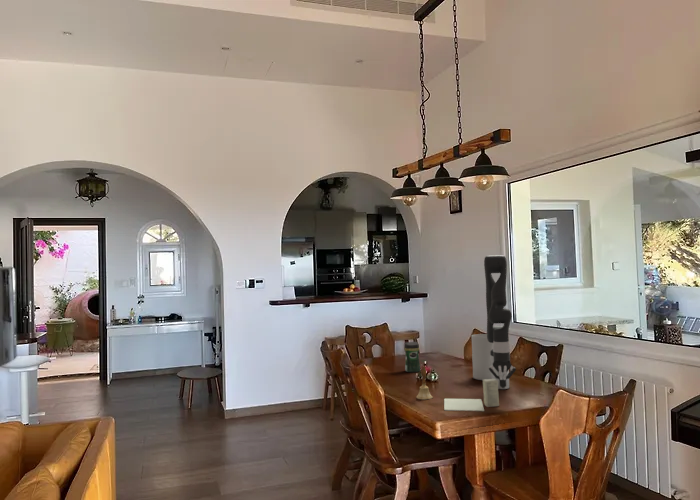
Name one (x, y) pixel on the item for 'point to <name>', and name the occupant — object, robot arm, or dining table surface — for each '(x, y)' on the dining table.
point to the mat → (463, 405)
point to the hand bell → (424, 387)
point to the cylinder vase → (481, 356)
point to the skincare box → (490, 392)
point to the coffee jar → (412, 357)
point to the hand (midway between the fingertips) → (502, 387)
